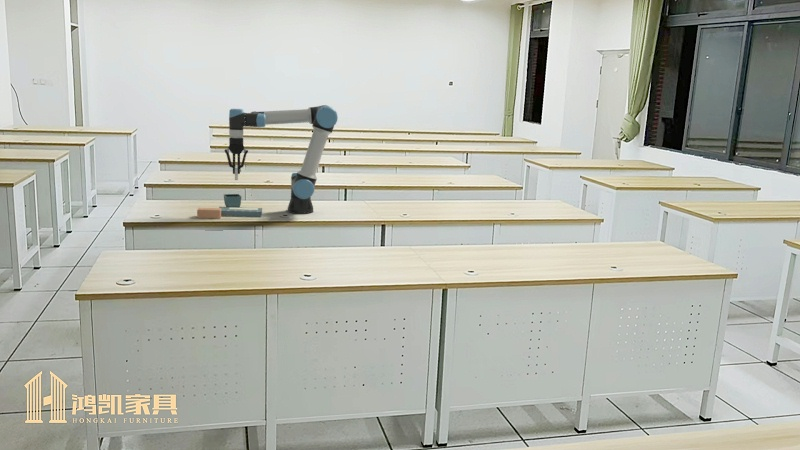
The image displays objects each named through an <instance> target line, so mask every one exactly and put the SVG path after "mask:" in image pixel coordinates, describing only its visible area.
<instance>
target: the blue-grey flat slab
mask: <svg viewBox="0 0 800 450" xmlns="http://www.w3.org/2000/svg"><path fill="white" fill-rule="evenodd" d="M218 208H221V217H242V216H245V217H246V218H249V217H251V218H261V217H262V214H263V208H262V207H242V206H240V207H226V206H219V207H218ZM245 217H244V218H245ZM242 218H243V217H242Z"/></svg>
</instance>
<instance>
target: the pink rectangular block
mask: <svg viewBox="0 0 800 450" xmlns="http://www.w3.org/2000/svg"><path fill="white" fill-rule="evenodd" d="M196 215H197V217H196V218H198V219H221V217H222V216H221V208H219V207H198V208H197V210H196Z"/></svg>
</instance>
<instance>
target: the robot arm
mask: <svg viewBox="0 0 800 450" xmlns="http://www.w3.org/2000/svg"><path fill="white" fill-rule="evenodd" d="M338 119H339V118H338V112H337V111H336V110H335V108H334V107H333V106H329V105H326V104H325V105H318V106H312V107H308V108H305V109H287V110H286V109H285V110H265V111H250V112H244V109H243V108H231V109H229V113H228V121H229V123H228V126H229V127H228V128H229V129H228V133H229V134H228V135H229V140H228V148H226V149H224V152H225V154H226V155H225V156H226V158H227V162H228V166H229V167H230V168H231V169H232V175H234V181H239V175H240V173H241V168H244V165H245V163H246V162H245V161H246V157H247V154H248V153H249V150H248V149H246V148H245V146H244V128H245V127H248V128H265V127H266V126H267V125H268V126H269V125H283V124H284V125H285V124H303V123H304V124H306V123H308V124H310V125H312V126H311V127H312V128H313V132H312V135H311V138H310V141H309V143H308V147H307V150H306V153H305V156H304V159H303V162H302V166H301V168H300V170H299V171H297V172H292V173H291V177H290V181H291V182H290V199H289V203H288V205H287V212H289V213H291V214H299V215H301V214H303V215H305V214H312V213H314V205H313V202H312V196H313V194H314V193H315V186H316V183H317V179H318V178H317V176H316V174H317V170H318V168H319V166H320V162H321V159H322V156H323V153H324V150H325V146H326V143H327V141H328V138H329V135H331V134H332V133H333V131H334V129H335V128H334V127H335V125H337V123H338ZM230 152H231V154H232V160H231V156H230ZM242 152H243V156H242V161H241V154H242ZM236 155H237V167H236Z"/></svg>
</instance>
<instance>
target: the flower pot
mask: <svg viewBox="0 0 800 450" xmlns="http://www.w3.org/2000/svg"><path fill="white" fill-rule="evenodd" d="M242 197H243V196H242V195H240V194H239V193H232V194H230V193H227V194H226V193H224V194H223V200H224V207H241V205H242Z"/></svg>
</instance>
